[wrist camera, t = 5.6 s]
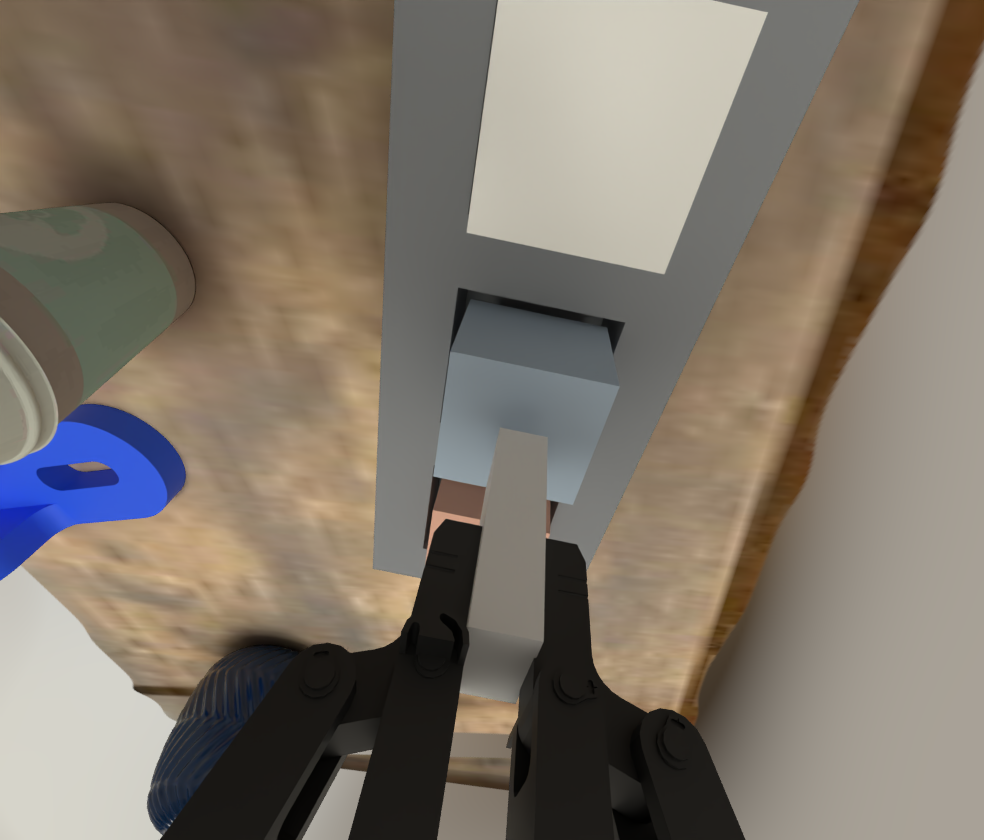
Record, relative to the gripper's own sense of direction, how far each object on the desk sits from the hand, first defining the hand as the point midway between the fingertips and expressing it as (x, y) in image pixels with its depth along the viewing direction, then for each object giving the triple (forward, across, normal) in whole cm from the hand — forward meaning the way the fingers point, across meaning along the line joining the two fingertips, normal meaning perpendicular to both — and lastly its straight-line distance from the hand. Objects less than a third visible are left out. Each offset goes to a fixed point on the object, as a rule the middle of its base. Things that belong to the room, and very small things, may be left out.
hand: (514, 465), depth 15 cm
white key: (+6, 0, +9) cm, 11 cm away
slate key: (+6, 0, 0) cm, 6 cm away
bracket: (+11, -29, -17) cm, 36 cm away
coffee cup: (+11, -20, -1) cm, 23 cm away
